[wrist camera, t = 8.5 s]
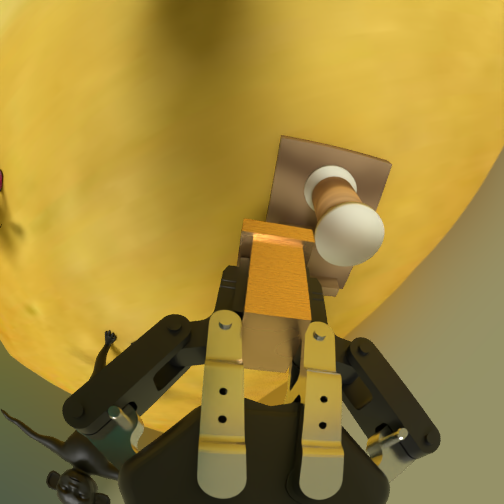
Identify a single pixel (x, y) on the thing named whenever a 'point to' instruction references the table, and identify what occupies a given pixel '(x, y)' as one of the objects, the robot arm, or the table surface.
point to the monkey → (77, 456)
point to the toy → (0, 183)
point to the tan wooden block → (274, 293)
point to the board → (295, 176)
